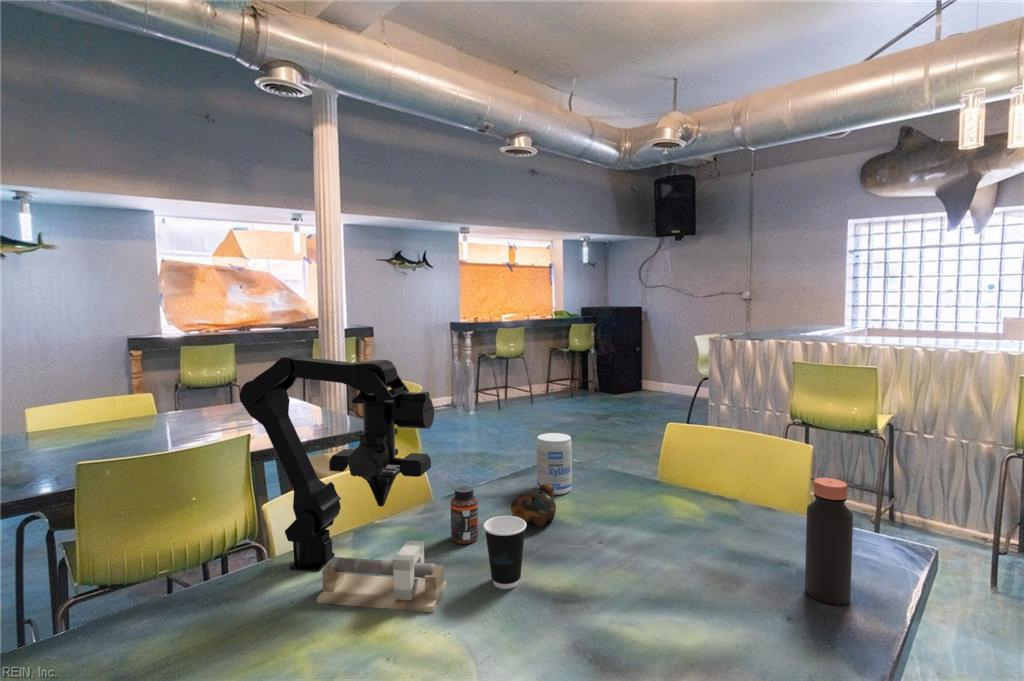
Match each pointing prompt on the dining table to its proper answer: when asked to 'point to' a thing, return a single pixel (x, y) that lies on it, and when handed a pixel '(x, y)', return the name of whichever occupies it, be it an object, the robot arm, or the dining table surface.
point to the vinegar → (829, 543)
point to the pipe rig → (378, 585)
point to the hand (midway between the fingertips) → (381, 505)
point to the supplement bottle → (464, 516)
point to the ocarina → (535, 505)
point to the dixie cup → (505, 549)
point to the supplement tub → (554, 461)
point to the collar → (407, 570)
